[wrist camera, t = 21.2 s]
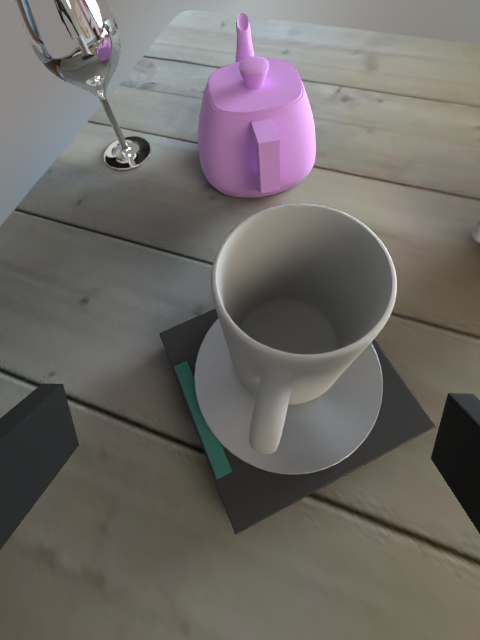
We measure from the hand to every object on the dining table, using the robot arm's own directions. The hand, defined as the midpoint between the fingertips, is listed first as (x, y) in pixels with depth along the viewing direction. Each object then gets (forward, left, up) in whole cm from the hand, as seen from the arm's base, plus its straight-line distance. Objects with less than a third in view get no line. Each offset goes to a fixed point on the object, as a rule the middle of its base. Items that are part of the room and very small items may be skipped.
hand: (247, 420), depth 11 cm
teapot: (+14, +29, -16) cm, 36 cm away
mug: (+4, +4, -12) cm, 13 cm away
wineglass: (0, +39, -16) cm, 43 cm away
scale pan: (+4, +3, -12) cm, 14 cm away
